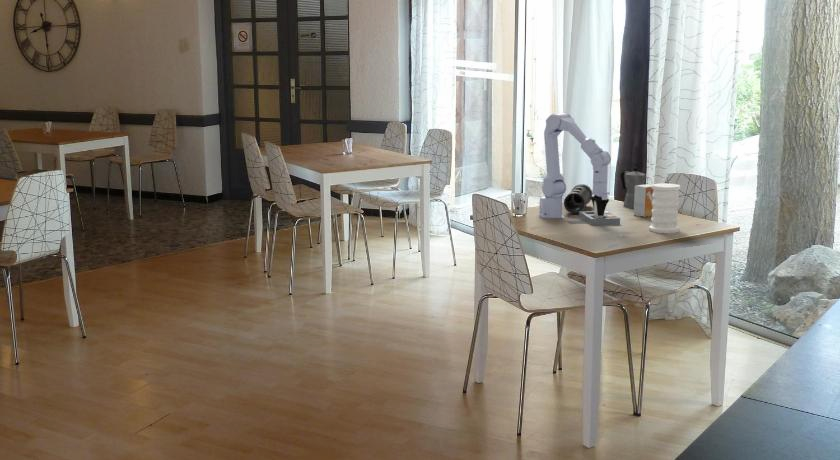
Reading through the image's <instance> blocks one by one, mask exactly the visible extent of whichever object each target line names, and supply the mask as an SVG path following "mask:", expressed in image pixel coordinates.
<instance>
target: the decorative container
mask: <svg viewBox="0 0 840 460" xmlns="http://www.w3.org/2000/svg"><path fill="white" fill-rule="evenodd" d="M651 185H652V189H653V194H652V196H653V201H652V205H653V209H652V216H651V218H650V220H651V225H649V226H648V230H650V232H652V233H656V232H657V233H656V234H675V233H676V232H677V233H678V232H680V227H679V226H677V223H678V221H679V219H678V214H679V210H678V209H679V208H678V207H679V197H680V194H679V190H681V184H677V183H664V182H663V183H653V184H651Z"/></svg>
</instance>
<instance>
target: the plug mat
mask: <svg viewBox="0 0 840 460" xmlns="http://www.w3.org/2000/svg"><path fill="white" fill-rule="evenodd" d="M566 222H567V223H569V224H570V225H582V224H583V225H586V224H588V223H587V222H585V221H584V220H582V219H580V220H566Z"/></svg>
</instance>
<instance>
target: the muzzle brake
mask: <svg viewBox="0 0 840 460" xmlns="http://www.w3.org/2000/svg"><path fill="white" fill-rule="evenodd" d="M592 190H593V189H592V188H591V187H590V186H589V185H587V184H582V183H580V184H577V185H575V186H574V187H573V188H572V189H571V191H570V192H569V193H568V194H567V195H566V196H565V198H564V199H563V200H564V201H563V206H564V208H565V210H566V212H568V213H569V214H572V215H577V214H579V211H584V209H585V207H586V206H587V205H588V204H589V203H590V202H592V200H591V198H590V197H591V196H593V194H592Z"/></svg>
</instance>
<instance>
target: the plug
mask: <svg viewBox="0 0 840 460" xmlns="http://www.w3.org/2000/svg"><path fill="white" fill-rule="evenodd" d="M593 211H594V218H604V215H603V216H598V213H597V205H596V202H595V201H594V207H593Z"/></svg>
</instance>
